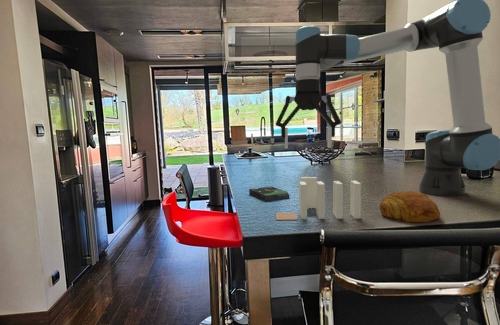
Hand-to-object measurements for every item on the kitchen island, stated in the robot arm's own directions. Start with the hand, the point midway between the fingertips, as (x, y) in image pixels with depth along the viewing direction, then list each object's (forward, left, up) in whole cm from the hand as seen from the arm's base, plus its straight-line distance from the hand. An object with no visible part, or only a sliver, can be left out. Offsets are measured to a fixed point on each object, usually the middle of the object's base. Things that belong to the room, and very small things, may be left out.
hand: (307, 148), depth 99 cm
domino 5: (-12, +10, -20) cm, 25 cm away
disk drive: (+13, -19, -20) cm, 31 cm away
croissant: (-27, +11, -20) cm, 35 cm away
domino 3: (-2, +10, -20) cm, 22 cm away
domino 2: (0, 0, -20) cm, 20 cm away
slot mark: (+8, +10, -20) cm, 23 cm away
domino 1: (+3, +10, -20) cm, 22 cm away
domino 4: (-7, +10, -20) cm, 23 cm away
